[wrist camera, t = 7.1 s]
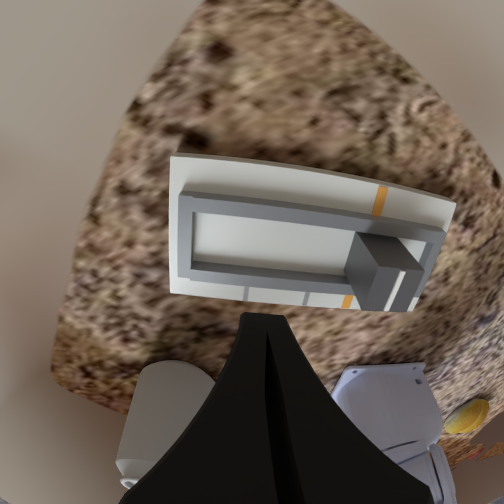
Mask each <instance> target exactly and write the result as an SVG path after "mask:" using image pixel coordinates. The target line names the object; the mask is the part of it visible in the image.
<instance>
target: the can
mask: <svg viewBox="0 0 504 504" xmlns="http://www.w3.org/2000/svg"><path fill="white" fill-rule="evenodd" d="M214 385H215V382H214V380H213V379H212V378H211V377H210V376H209V375H207V374H206V373H205V372H204V371H203V370H201V369H200V368H198V367H197V366H195V365H192V364H190V363H187V362H183V361H178V360H164V361H160V362H157V363H153V364H149V365H148V366H146V367H145V368H143V370H142V371H141V373H140V376H139V379H138V382H137V386H136V389H135V392H134V396H133V399H132V402H131V406H130V409H129V413H128V417H127V420H126V424H125V427H124V431H123V435H122V439H121V443H120V447H119V451H118V455H117V459H116V465H117V467H118V469H119V470H120V472H121V473H122V475H123V478H121V479H120V482H121V483H122V485H124V486H125V487H127V488H128V489H130V488H131V487H132V486H134V485H135V484H136V483H137V482H138V481H139V480H140V479H141V478H142V477H143V476H144V475H145V474H146V473H147V472H148V471H149V470H150V469H151V468H152V467H153V466H154V465H155V464H156V463H157V462H158V461H159V460H160V459H161V458H162V456H163V455H164V454H165V453H166V452H167V451H168V450H169V448H170V447H171V446H172V445H173V444H174V443H175V442H176V440H177V439H178V438H179V437H180V435H181V434H182V433H183V431H184V430H185V429H186V427H187V426H188V425H189V423H190V422H191V420H192V419H193V418H194V416H195V415H196V414H197V412H198V411H199V409H200V408H201V406H202V404H203V403H204V401H205V400H206V398H207V396H208V395H209V393H210V391H211V390H212V388H213V386H214Z"/></svg>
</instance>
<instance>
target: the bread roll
mask: <svg viewBox="0 0 504 504" xmlns="http://www.w3.org/2000/svg"><path fill="white" fill-rule="evenodd" d="M488 410H489V403H488V401H486V400H484V399H479V398H475V399H472V400H471V401H469V402H467V403H465V404H464V405H462V406H461V407H459V408H457V409H456V410H455V411H454V412H452V413H451V414H450V415H449V416H448V418H447V419H446V421H445V423H444V426H445V430H446V431H447V432H448V433H450V434H453V433H465V432H469V431H472V430H474V429H475V428H477V427H478V426H479V425H481V423H482V422H483V421H484V419H485V418H486V416H487V413H488Z"/></svg>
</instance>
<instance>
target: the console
mask: <svg viewBox="0 0 504 504" xmlns="http://www.w3.org/2000/svg"><path fill="white" fill-rule="evenodd" d="M456 204H457V203H455V202H454V201H452V200H451V199H449V198H448V197H445V196H441V195H438V194H434V193H430V192H426V191H422V190H419V189H415V188H411V187H407V186H402V185H398V184H394V183H390V182H385V181H381V180H376V179H371V178H367V177H362V176H357V175H352V174H347V173H341V172H336V171H330V170H325V169H319V168H313V167H307V166H300V165H294V164H287V163H280V162H272V161H265V160H256V159H248V158H239V157H229V156H219V155H207V154H195V153H180V152H176V153H174V154H173V155H172V156H171V160H170V186H169V272H170V293H177V294H185V295H194V296H203V297H211V298H221V299H230V300H240V301H251V302H262V303H273V304H286V305H299V306H313V307H328V308H345V309H361V308H360V306H359V303H358V301H357V299H356V297H355V294H354V292H353V290H352V288H351V286H350V283H349V281H348V279H347V277H346V275H345V273H344V267H345V264H346V261H347V257H348V254H349V251H350V248H351V244H352V241H353V237H354V234H355V231H357V232H364V233H371V234H378V235H384V236H391V237H397V238H398V239H399V240H400V241H401V243H402V244H403V245H404V246H405V247H406V248H407V250H408V251H409V252H410V253H411V254H412V256H413V257H414V258H415V259H416V260H417V262H418V263H419V264H420V265H421V267H422V268H423V269H424V270H425V273H424V275H423V277H422V280H421V282H420V284H419V286H418V289H417V291H416V293H415V295H414V297H413V299H412V301H411V303H410V305H409V308H408V310H407V311H413V309H414V307H415V305H416V303H417V301H418V299H419V297H420V295H421V293H422V291H423V289H424V286H425V284H426V282H427V280H428V278H429V275H430V273H431V271H432V268H433V266H434V264H435V261H436V259H437V257H438V254H439V252H440V249H441V247H442V244H443V241H444V239H445V236H446V234H447V230H448V227H449V225H450V222H451V219H452V216H453V213H454V210H455V207H456Z"/></svg>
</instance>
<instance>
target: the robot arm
mask: <svg viewBox="0 0 504 504" xmlns="http://www.w3.org/2000/svg"><path fill="white" fill-rule="evenodd" d="M425 367H426V364H425V363H424V362H417V363H404V364H388V365H364V366H348V367H346V368H345V369H344V371H343V373H342V375H341V377H340V379H339V381H338V382H337V384H336V386H335V388H334V390H333V391H332V393H331V395H330V394H329V392H328V391H327V389H326V388H325V387H324V385H323V384H322V382H321V381H320V379H319V378H318V376H317V375H316V373H315V372H314V370H313V368H312V367H311V365H310V363H309V362H308V360H307V358H306V357H305V355H304V353H303V351H302V350H301V348H300V346H299V344H298V342H297V340H296V338H295V336H294V334H293V332H292V330H291V328H290V326H289V324H288V322H287V320H286V318H285V317H284V315H273V314H261V313H249V312H244V313H242V314H241V315H240V323H239V329H238V332H237V336H236V339H235V342H234V344H233V347H232V349H231V352H230V354H229V356H228V359H227V361H226V363H225V365H224V367H223V369H222V371H221V373H220V375H219V377H218V379H217V381H216V383H215V385H214V386H213V388H212V390H211V391H210V393H209V395H208V396H207V398H206V400H205V401H204V403H203V404H202V406H201V408H200V409H199V411H198V412H197V414H196V415H195V416H194V418H193V419H192V420H191V422H190V423H189V425H188V426H187V427H186V429H185V430H184V431H183V433H182V434H181V435H180V437H179V438H178V439H177V440H176V442H175V443H174V444H173V445H172V446H171V447H170V448H169V450H168V451H167V452H166V453H165V454H164V455H163V456H162V458H161V459H160V460H159V461H158V462H157V463H156V464H155V465H154V466H153V467H152V468H151V469H150V470H149V471H148V472H147V473H146V474H145V475H144V476H143V477H142V478H141V479H140V480H139V481H138V482H137V483H136V484H135V485H134V486H132V487H131V488H130V489H129V490H128V491H127V492H126V493H125V494H124V496H123V497H122V499H121V500H120V502H119V504H457V501H456V497H455V486H454V482H453V478H452V475H451V471H450V468H449V465H448V462H447V459H446V456H445V454H444V451H443V449H442V447H441V446H440V445H436V443H437V441H438V440H439V438H440V435H441V431H442V416H441V412H440V409H439V407H438V404H437V402H436V400H435V397H434V395H433V393H432V390H431V388H430V386H429V384H428V382H427V379H426V377H425V375H424V373H423V370H424V368H425ZM429 449H430V452H431V458H432V461H433V464H434V465H433V464H432V461H431V458H430V454H429V451H428V450H429ZM439 486H440V488H441V491H440V488H439ZM441 492H442V495H441ZM0 504H9V503H8V502H6V501H5V500H3V499H2V498H0ZM488 504H504V495H503V496H501V497H500V498H497V499H495V500H494V501H492V502H490V503H488Z"/></svg>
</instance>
